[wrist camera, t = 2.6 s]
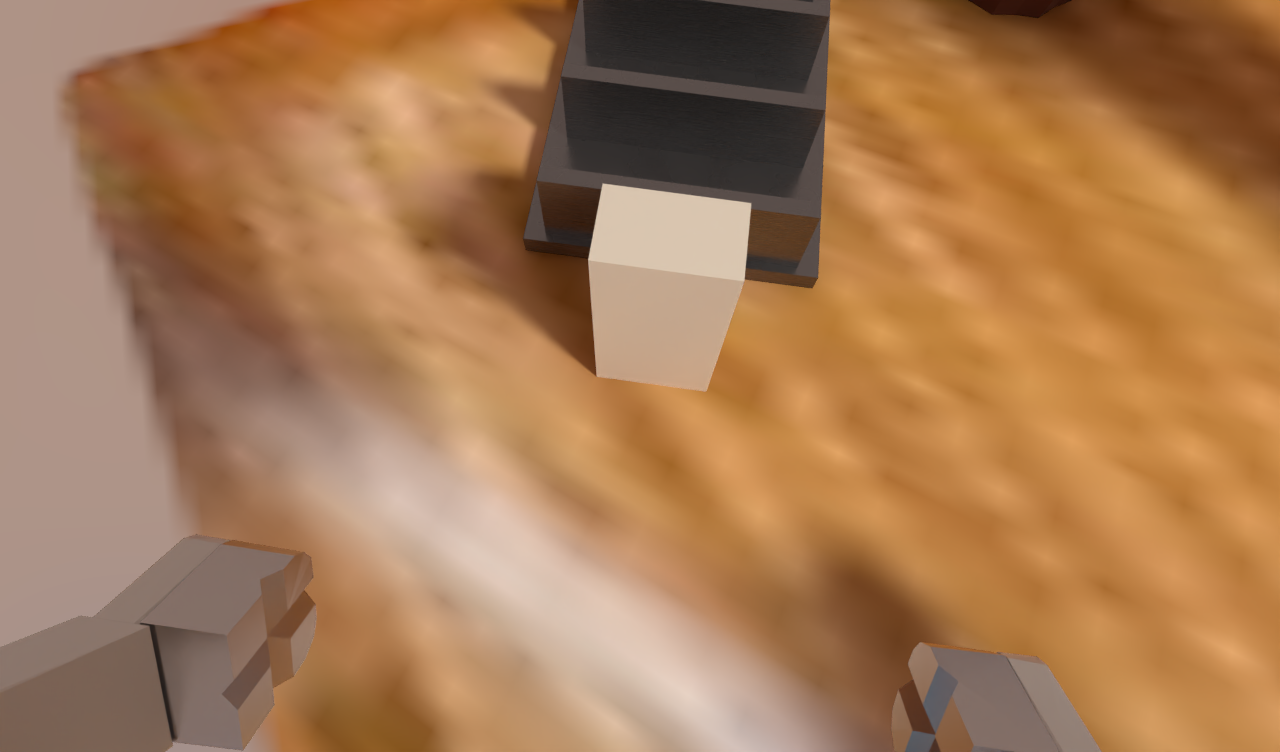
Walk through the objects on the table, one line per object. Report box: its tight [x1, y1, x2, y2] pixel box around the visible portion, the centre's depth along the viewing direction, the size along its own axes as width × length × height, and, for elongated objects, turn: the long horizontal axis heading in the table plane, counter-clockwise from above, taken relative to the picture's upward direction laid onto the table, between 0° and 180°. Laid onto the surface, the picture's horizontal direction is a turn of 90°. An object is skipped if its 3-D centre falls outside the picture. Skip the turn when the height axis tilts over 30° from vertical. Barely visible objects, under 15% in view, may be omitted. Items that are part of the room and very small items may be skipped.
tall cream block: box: [588, 184, 751, 392], centre depth 27 cm, size 3×5×10 cm, turn 82°
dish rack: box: [523, 0, 830, 288], centre depth 34 cm, size 19×14×5 cm
